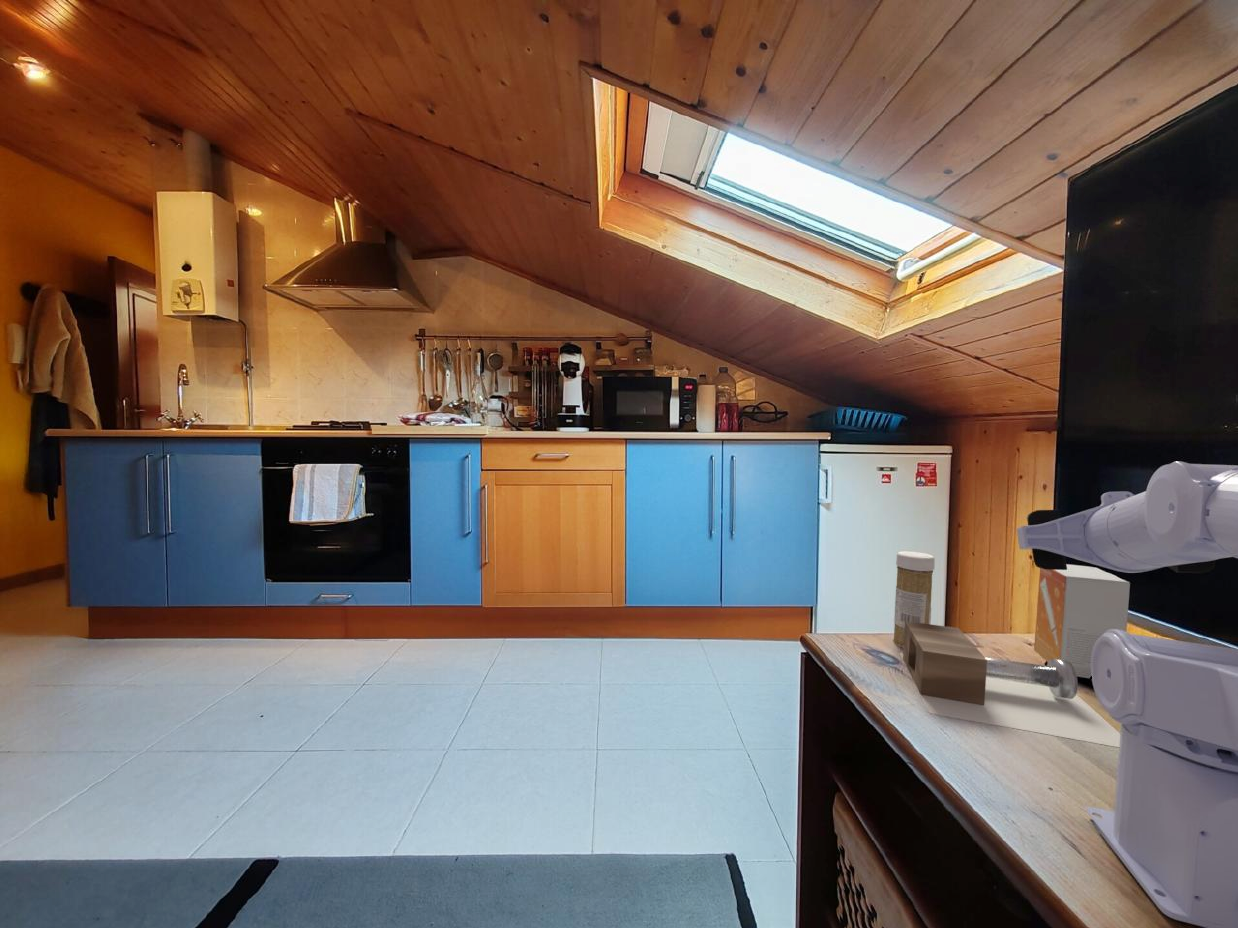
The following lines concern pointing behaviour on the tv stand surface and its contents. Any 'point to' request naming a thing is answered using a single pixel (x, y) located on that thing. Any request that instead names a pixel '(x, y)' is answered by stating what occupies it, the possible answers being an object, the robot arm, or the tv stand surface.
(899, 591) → the sprinkles bottle
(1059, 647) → the small box
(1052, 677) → the pin
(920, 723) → the tv stand surface
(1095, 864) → the tv stand surface
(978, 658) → the block
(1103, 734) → the board
